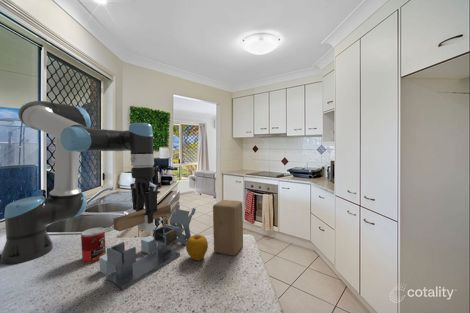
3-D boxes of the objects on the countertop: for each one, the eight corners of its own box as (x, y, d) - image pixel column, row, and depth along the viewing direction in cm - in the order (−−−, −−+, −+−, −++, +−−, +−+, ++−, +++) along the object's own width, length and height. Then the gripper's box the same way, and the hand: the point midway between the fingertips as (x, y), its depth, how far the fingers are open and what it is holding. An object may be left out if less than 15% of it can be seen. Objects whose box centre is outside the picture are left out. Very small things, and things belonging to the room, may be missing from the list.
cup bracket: (105, 279, 66) (104, 247, 66) (163, 249, 85) (162, 224, 85) (122, 290, 61) (120, 256, 60) (179, 256, 80) (179, 229, 80)
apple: (184, 255, 81) (183, 233, 80) (205, 250, 84) (204, 229, 84) (188, 266, 73) (187, 242, 73) (210, 260, 76) (210, 238, 76)
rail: (113, 229, 65) (113, 218, 65) (164, 212, 82) (164, 203, 82) (119, 231, 63) (119, 220, 63) (170, 213, 80) (170, 204, 80)
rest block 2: (141, 250, 85) (141, 239, 85) (149, 247, 88) (149, 235, 88) (148, 254, 82) (148, 242, 82) (157, 249, 86) (156, 238, 85)
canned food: (94, 264, 75) (92, 235, 75) (76, 262, 77) (75, 234, 77) (110, 253, 83) (109, 227, 83) (94, 252, 85) (93, 226, 84)
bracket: (196, 239, 95) (195, 208, 94) (180, 248, 86) (179, 214, 86) (178, 233, 102) (177, 204, 101) (161, 241, 93) (160, 210, 93)
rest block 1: (99, 270, 71) (99, 256, 71) (111, 265, 75) (111, 251, 75) (106, 275, 69) (106, 260, 68) (118, 269, 72) (118, 255, 72)
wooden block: (213, 252, 82) (211, 204, 81) (223, 242, 91) (222, 199, 91) (235, 257, 78) (234, 207, 78) (244, 245, 88) (243, 200, 87)
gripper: (119, 166, 73) (122, 230, 74) (147, 167, 64) (150, 239, 65) (139, 165, 79) (141, 223, 80) (166, 166, 71) (169, 231, 71)
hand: (145, 230), depth 73 cm, fingers closed on rail, 4 cm apart
